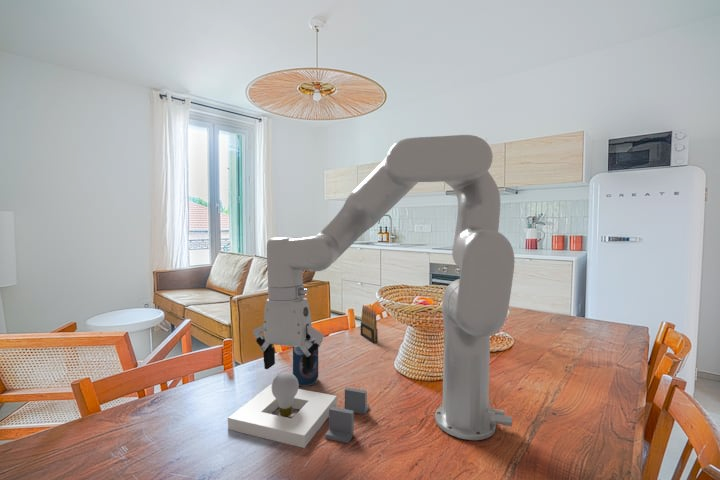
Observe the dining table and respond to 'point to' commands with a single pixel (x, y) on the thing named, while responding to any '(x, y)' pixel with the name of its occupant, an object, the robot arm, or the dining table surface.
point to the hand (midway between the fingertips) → (288, 369)
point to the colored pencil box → (369, 325)
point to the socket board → (282, 429)
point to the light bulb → (285, 392)
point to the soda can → (298, 367)
